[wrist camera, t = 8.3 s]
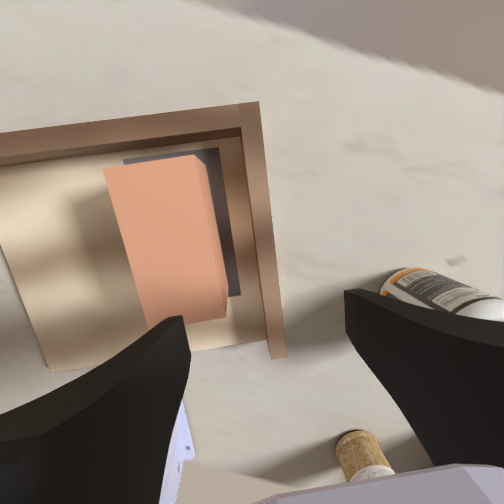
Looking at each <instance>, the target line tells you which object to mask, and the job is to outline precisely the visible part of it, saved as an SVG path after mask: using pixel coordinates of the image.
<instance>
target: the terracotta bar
mask: <svg viewBox="0 0 504 504" xmlns="http://www.w3.org/2000/svg"><path fill="white" fill-rule="evenodd" d="M102 169H103V173H104V176H105V180H106V183H107V187H108V190H109V194H110V197H111V201H112V204H113V208H114V211H115V215H116V218H117V222H118V225H119V228H120V232H121V235H122V239H123V242H124V246H125V249H126V253H127V256H128V260H129V263H130V267H131V270H132V274H133V277H134V281H135V284H136V288H137V291H138V294H139V298H140V301H141V305H142V308H143V312H144V315H145V319H146V322H147V326H148V329H149V330H150V329H152V328H153V327H154V326H156V325H157V324H158V323H160V322H161V321H162V320H164V319H166V318H167V317H171V316H178V315H182V316H183V320H184V325H186V324H192V323H198V322H203V321H209V320H215V319H221V318H226V312H227V299H228V280H227V275H226V270H225V264H224V259H223V254H222V248H221V243H220V238H219V232H218V227H217V222H216V216H215V211H214V206H213V200H212V195H211V190H210V184H209V179H208V174H207V168H206V165H205V164H204V163H203V162H202V161H201V160H200V159H198V158H197V157H196V156H195V155H187V156H180V157H174V158H167V159H161V160H154V161H147V162H141V163H134V164H128V165H121V166H115V167H108V168H102Z"/></svg>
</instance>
